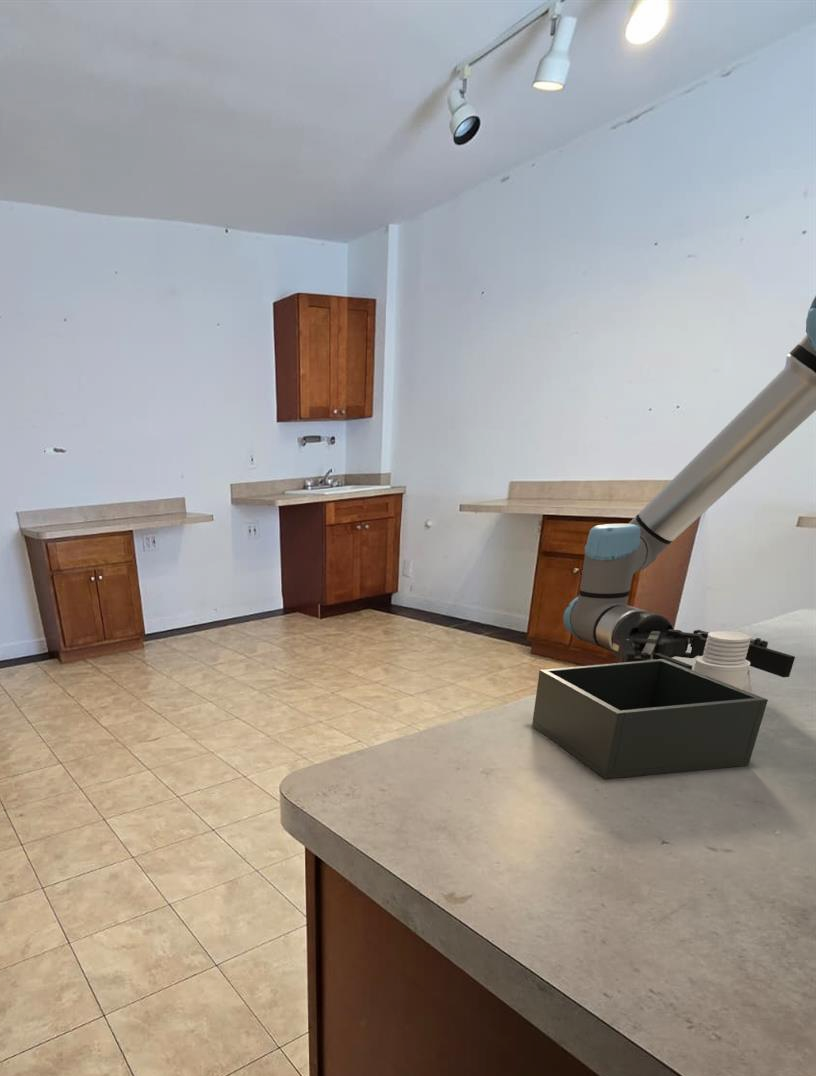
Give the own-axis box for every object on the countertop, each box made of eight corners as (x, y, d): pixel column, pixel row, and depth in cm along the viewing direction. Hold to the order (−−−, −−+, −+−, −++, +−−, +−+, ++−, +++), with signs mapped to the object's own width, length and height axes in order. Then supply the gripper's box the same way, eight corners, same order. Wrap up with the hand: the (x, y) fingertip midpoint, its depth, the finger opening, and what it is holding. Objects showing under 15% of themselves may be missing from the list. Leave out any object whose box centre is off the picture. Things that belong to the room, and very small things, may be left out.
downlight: (681, 714, 86) (699, 641, 81) (671, 697, 91) (687, 628, 87) (754, 718, 83) (776, 643, 78) (738, 700, 88) (758, 629, 84)
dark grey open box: (651, 714, 86) (663, 658, 83) (748, 765, 71) (768, 699, 68) (531, 725, 86) (539, 669, 82) (604, 779, 71) (617, 713, 67)
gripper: (704, 650, 103) (822, 690, 84) (554, 663, 102) (638, 707, 83) (716, 603, 100) (841, 634, 81) (561, 617, 99) (650, 651, 80)
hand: (738, 671), depth 82 cm, fingers open, 13 cm apart
